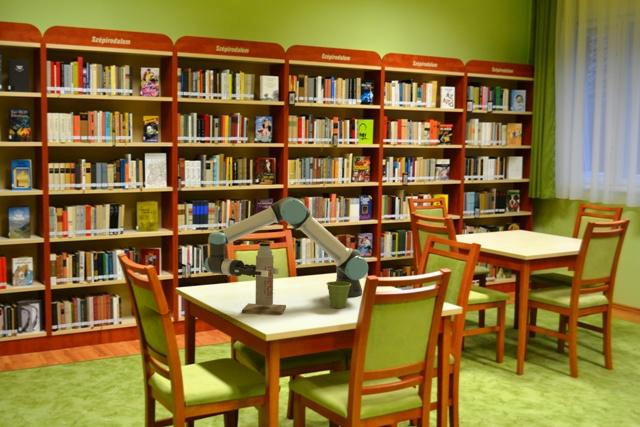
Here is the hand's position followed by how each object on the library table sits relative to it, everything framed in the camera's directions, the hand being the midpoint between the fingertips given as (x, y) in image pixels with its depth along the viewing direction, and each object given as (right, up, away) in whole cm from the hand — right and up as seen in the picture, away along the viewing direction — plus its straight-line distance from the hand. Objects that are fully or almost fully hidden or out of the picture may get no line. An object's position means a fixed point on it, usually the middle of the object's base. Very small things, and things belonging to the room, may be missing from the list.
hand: (273, 272), depth 343 cm
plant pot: (+30, -18, +14) cm, 38 cm away
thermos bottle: (-4, -15, +4) cm, 16 cm away
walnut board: (-4, -18, +4) cm, 19 cm away
